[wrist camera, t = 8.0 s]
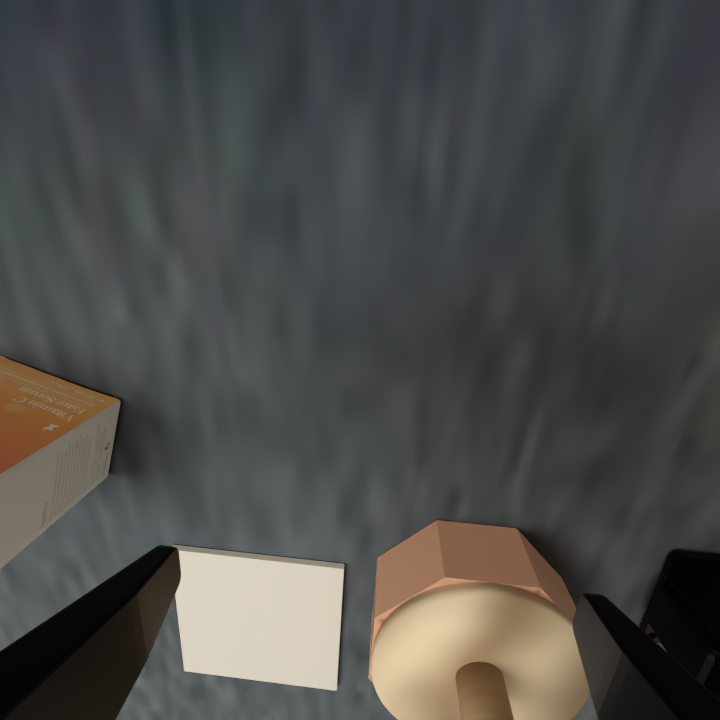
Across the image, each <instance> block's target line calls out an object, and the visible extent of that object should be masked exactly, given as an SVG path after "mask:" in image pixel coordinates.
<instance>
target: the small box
mask: <svg viewBox="0 0 720 720" xmlns="http://www.w3.org/2000/svg"><path fill="white" fill-rule="evenodd" d="M120 403H121V402H120V400H119V399H117V398H113V397H110V396H107V395H104V394H101V393H98V392H95V391H92V390H89V389H86V388H83V387H81V386H78V385H75V384H73V383H70V382H67V381H65V380H62V379H59V378H57V377H54V376H52V375H49V374H46V373H44V372H41V371H38V370H36V369H33V368H30V367H28V366H25V365H23V364H20V363H17V362H14V361H12V360H9V359H7V358H5V357H3V356H0V569H1V568H2V567H3V566H4V565H6V564H7V563H8V562H9V561H10V560H11V559H12V558H14V557H15V556H16V555H17V554H18V553H19V552H21V551H22V550H23V549H24V548H25V547H26V546H28V545H29V544H30V543H31V542H32V541H33V540H34V539H36V538H37V537H38V536H39V535H40V534H41V533H42V532H44V531H45V530H46V529H47V528H48V527H49V526H51V525H52V524H53V523H54V522H55V521H57V520H58V519H59V518H60V517H61V516H62V515H63V514H65V513H66V512H67V511H68V510H69V509H71V508H72V507H73V506H74V505H75V504H76V503H77V502H79V501H80V500H81V499H82V498H83V497H84V496H86V495H87V494H88V493H89V492H90V491H91V490H93V489H94V488H95V487H96V486H97V485H98V484H100V483H101V482H102V481H103V480H104V479H105V478H106V477H107V476H108V472H109V466H110V460H111V455H112V449H113V443H114V437H115V431H116V425H117V420H118V414H119V409H120Z"/></svg>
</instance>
